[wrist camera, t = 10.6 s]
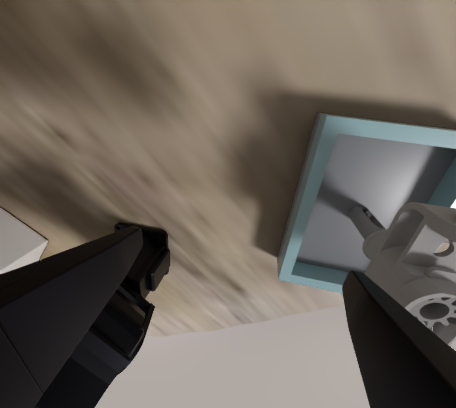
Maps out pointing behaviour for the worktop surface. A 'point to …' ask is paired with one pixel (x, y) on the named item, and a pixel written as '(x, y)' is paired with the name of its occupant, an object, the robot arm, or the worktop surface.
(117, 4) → the worktop surface
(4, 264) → the milk carton
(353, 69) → the worktop surface
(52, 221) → the worktop surface
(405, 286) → the mechanical component
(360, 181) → the tray
